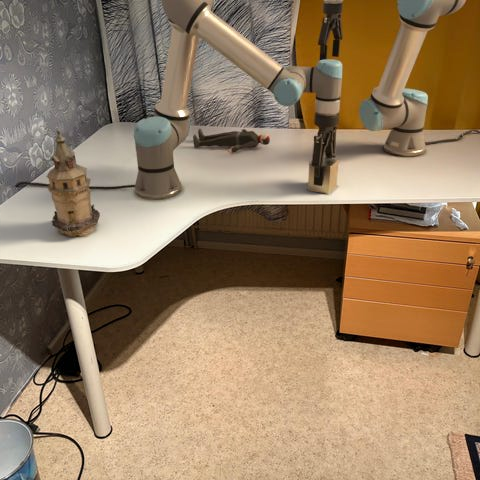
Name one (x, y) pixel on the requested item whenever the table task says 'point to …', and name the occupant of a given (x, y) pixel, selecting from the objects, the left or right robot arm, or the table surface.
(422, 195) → the table surface
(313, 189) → the block
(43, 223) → the table surface
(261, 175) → the table surface
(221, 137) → the toy
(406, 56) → the right robot arm
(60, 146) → the miniature building
